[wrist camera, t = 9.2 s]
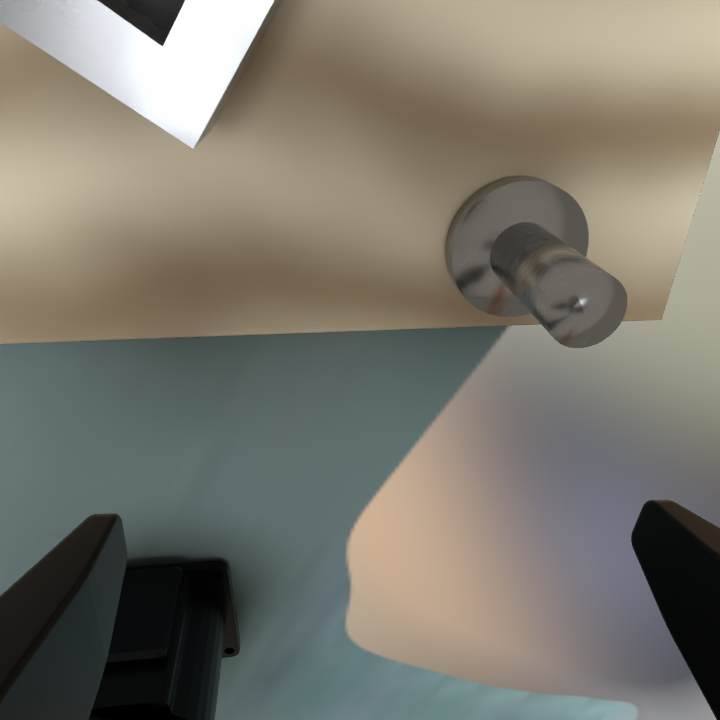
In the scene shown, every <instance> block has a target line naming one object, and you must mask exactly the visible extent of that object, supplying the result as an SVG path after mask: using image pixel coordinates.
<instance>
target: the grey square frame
mask: <svg viewBox="0 0 720 720" xmlns="http://www.w3.org/2000/svg"><path fill="white" fill-rule="evenodd" d="M282 1H283V0H185V2H184V4H183V6H182V8H181V10H180V12H179V14H178V16H177V18H176V21H175V23H174V25H173V27H172V29H171V31H170V33H169V35H168V34H167V33H166V32H164V31H163V30H162V29H160V28H159V27H157V26H156V25H155V24H153V23H152V22H151V21H149V20H148V19H146V18H145V17H144V16H142V15H141V14H140V13H138V12H137V11H135V10H134V9H133V8H131V7H130V6H129V5H127V4H126V3H124V2H123V1H122V0H0V22H1V23H2V24H4V25H5V26H7V27H8V28H10V29H11V30H13V31H14V32H16V33H18V34H19V35H21V36H22V37H24V38H25V39H27V40H28V41H30V42H31V43H33V44H34V45H36V46H37V47H39V48H40V49H42V50H43V51H45V52H46V53H48V54H49V55H51V56H53V57H54V58H56V59H57V60H59V61H60V62H62V63H63V64H65V65H66V66H68V67H69V68H71V69H72V70H74V71H75V72H77V73H78V74H80V75H81V76H83V77H84V78H86V79H87V80H89V81H91V82H92V83H94V84H95V85H97V86H98V87H100V88H101V89H103V90H104V91H106V92H107V93H109V94H110V95H112V96H113V97H115V98H116V99H118V100H119V101H121V102H122V103H124V104H126V105H127V106H129V107H130V108H132V109H133V110H135V111H136V112H138V113H139V114H141V115H142V116H144V117H145V118H147V119H148V120H150V121H151V122H153V123H154V124H156V125H157V126H159V127H161V128H162V129H164V130H165V131H167V132H168V133H170V134H171V135H173V136H174V137H176V138H177V139H179V140H180V141H182V142H183V143H185V144H186V145H188V146H189V147H191V148H192V149H194V148H195V147H196V146H197V145H198V144H199V143H200V142H201V141H202V140H203V139H204V138H205V137H206V136H207V135H208V134H209V133H210V132H211V130H212V128H213V126H214V125H215V123H216V121H217V119H218V117H219V115H220V114H221V112H222V110H223V108H224V106H225V105H226V103H227V101H228V99H229V97H230V96H231V94H232V92H233V90H234V88H235V86H236V85H237V83H238V81H239V79H240V77H241V76H242V74H243V72H244V70H245V68H246V66H247V65H248V63H249V61H250V59H251V57H252V56H253V54H254V52H255V50H256V48H257V47H258V45H259V43H260V41H261V39H262V37H263V36H264V34H265V32H266V30H267V28H268V27H269V25H270V23H271V21H272V19H273V17H274V16H275V14H276V12H277V10H278V8H279V7H280V5H281V3H282Z"/></svg>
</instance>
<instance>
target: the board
mask: <svg viewBox="0 0 720 720" xmlns="http://www.w3.org/2000/svg"><path fill="white" fill-rule="evenodd" d="M719 131H720V0H283V1H282V3H281V5H280V7H279V8H278V10H277V12H276V14H275V16H274V17H273V19H272V21H271V23H270V25H269V27H268V28H267V30H266V32H265V34H264V36H263V37H262V39H261V41H260V43H259V45H258V47H257V48H256V50H255V52H254V54H253V56H252V57H251V59H250V61H249V63H248V65H247V66H246V68H245V70H244V72H243V74H242V76H241V77H240V79H239V81H238V83H237V85H236V86H235V88H234V90H233V92H232V94H231V96H230V97H229V99H228V101H227V103H226V105H225V106H224V108H223V110H222V112H221V114H220V115H219V117H218V119H217V121H216V123H215V125H214V126H213V128H212V130H211V132H210V133H209V134H208V135H207V136H206V137H205V138H204V139H203V140H202V141H201V142H200V143H199V144H198V145H197V146H196V147H195V148H194V149H192V148H191V147H189V146H188V145H186V144H185V143H183V142H182V141H180V140H179V139H177V138H176V137H174V136H173V135H171V134H170V133H168V132H167V131H165V130H164V129H162V128H161V127H159V126H157V125H156V124H154V123H153V122H151V121H150V120H148V119H147V118H145V117H144V116H142V115H141V114H139V113H138V112H136V111H135V110H133V109H132V108H130V107H129V106H127V105H126V104H124V103H122V102H121V101H119V100H118V99H116V98H115V97H113V96H112V95H110V94H109V93H107V92H106V91H104V90H103V89H101V88H100V87H98V86H97V85H95V84H94V83H92V82H91V81H89V80H87V79H86V78H84V77H83V76H81V75H80V74H78V73H77V72H75V71H74V70H72V69H71V68H69V67H68V66H66V65H65V64H63V63H62V62H60V61H59V60H57V59H56V58H54V57H53V56H51V55H49V54H48V53H46V52H45V51H43V50H42V49H40V48H39V47H37V46H36V45H34V44H33V43H31V42H30V41H28V40H27V39H25V38H24V37H22V36H21V35H19V34H18V33H16V32H14V31H13V30H11V29H10V28H8V27H7V26H5V25H4V24H2V23H1V22H0V344H9V343H37V342H64V341H92V340H119V339H147V338H175V337H202V336H230V335H257V334H285V333H312V332H340V331H368V330H395V329H423V328H450V327H478V326H505V325H532V324H541V323H540V322H539V321H538V320H537V319H536V318H535V317H534V316H533V315H532V314H531V313H530V314H527V315H523V316H517V317H500V316H494V315H491V314H488V313H485V312H483V311H481V310H479V309H477V308H476V307H474V306H473V305H472V304H471V303H470V302H469V301H467V299H466V298H465V297H464V296H463V295H462V293H461V292H460V290H459V289H458V287H457V286H456V285H455V283H454V282H453V280H452V278H451V276H450V274H449V272H448V269H447V265H446V260H445V243H446V237H447V233H448V230H449V227H450V224H451V222H452V220H453V218H454V216H455V214H456V213H457V211H458V210H459V208H460V207H461V206H462V204H463V203H464V202H465V201H466V200H467V199H468V198H469V197H470V196H471V195H472V194H473V193H475V192H476V191H477V190H478V189H480V188H482V187H483V186H485V185H486V184H488V183H490V182H492V181H495V180H498V179H500V178H504V177H509V176H517V175H525V176H532V177H537V178H540V179H542V180H545V181H547V182H549V183H551V184H553V185H555V186H557V187H559V188H561V189H562V190H564V191H566V192H567V193H568V194H570V195H571V196H572V197H573V198H574V199H575V200H576V201H577V203H578V204H579V205H580V207H581V209H582V210H583V213H584V215H585V217H586V221H587V225H588V232H589V244H588V250H587V255H586V258H587V259H589V260H590V261H592V262H593V263H595V264H596V265H598V266H599V267H600V268H602V269H603V270H605V271H606V272H608V273H609V274H610V275H612V276H613V277H615V278H616V279H617V280H619V281H620V282H621V283H622V285H623V286H624V288H625V290H626V293H627V309H626V313H625V316H624V318H623V320H622V321H641V320H642V321H643V320H661V319H662V316H663V313H664V310H665V306H666V303H667V300H668V297H669V293H670V290H671V287H672V283H673V280H674V277H675V274H676V271H677V268H678V264H679V261H680V258H681V254H682V251H683V248H684V245H685V242H686V238H687V235H688V232H689V229H690V225H691V222H692V219H693V216H694V212H695V209H696V206H697V203H698V199H699V196H700V193H701V189H702V186H703V183H704V180H705V177H706V173H707V170H708V167H709V163H710V160H711V157H712V154H713V151H714V147H715V144H716V141H717V138H718V135H719Z"/></svg>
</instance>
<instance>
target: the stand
mask: <svg viewBox="0 0 720 720" xmlns="http://www.w3.org/2000/svg"><path fill="white" fill-rule="evenodd" d="M588 244H589V232H588V225H587V221H586V217H585V215H584V213H583V210H582V209H581V207H580V205H579V204H578V203H577V201H576V200H575V199H574V198H573V197H572V196H571V195H570V194H568V193H567V192H566V191H564V190H562V189H561V188H559V187H557V186H555V185H553V184H551V183H549V182H547V181H545V180H542V179H540V178H537V177H532V176H525V175H517V176H509V177H504V178H500V179H498V180H495V181H492V182H490V183H488V184H486V185H485V186H483V187H482V188H480V189H478V190H477V191H476V192H475V193H473V194H472V195H471V196H470V197H469V198H468V199H467V200H466V201H465V202H464V203H463V204H462V206H461V207H460V208H459V210H458V211H457V213H456V214H455V216H454V218H453V220H452V222H451V224H450V227H449V230H448V233H447V237H446V243H445V260H446V265H447V269H448V272H449V274H450V276H451V278H452V280H453V282H454V283H455V285H456V286H457V287H458V289H459V290H460V292H461V293H462V295H463V296H464V297H465V298H466V299H467V301H469V302H470V303H471V304H472V305H473V306H474V307H476V308H477V309H479V310H481V311H483V312H485V313H488V314H491V315H494V316H500V317H517V316H523V315H527V314H530V313H531V314H532V315H533V316H534V317H535V318H536V319H537V320H538V321H539V322H540V323H541V325H543V327H544V328H545V329H546V330H547V331H548V332H549V333H550V334H551V335H552V336H553V337H554V339H555V340H557V341H558V342H559V343H560V344H562V345H565V346H567V347H572V348H584V347H589V346H592V345H594V344H597V343H599V342H601V341H603V340H604V339H606V338H607V337H608V336H610V335H611V334H612V333H613V332H614V331H615V330H616V329H617V327H618V326H619V325H620V323H621V322H622V320H623V318H624V316H625V313H626V309H627V293H626V290H625V288H624V286H623V285H622V283H621V282H620V281H619V280H617V279H616V278H615V277H613V276H612V275H610V274H609V273H608V272H606V271H605V270H603V269H602V268H600V267H599V266H598V265H596V264H595V263H593V262H592V261H590V260H589V259H587V258H586V255H587V250H588Z"/></svg>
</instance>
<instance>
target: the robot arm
mask: <svg viewBox="0 0 720 720" xmlns="http://www.w3.org/2000/svg"><path fill="white" fill-rule="evenodd" d="M631 541H632V546H633V549H634V551H635V554H636V556H637V558H638V560H639V563H640V565H641V568H642V570H643V572H644V575H645V577H646V579H647V581H648V584H649V586H650V589H651V591H652V593H653V596H654V598H655V600H656V603H657V605H658V607H659V610H660V612H661V614H662V617H663V619H664V621H665V623H666V625H667V628H668V629H669V631H670V633H671V635H672V637H673V639H674V641H675V643H676V645H677V647H678V649H679V650H680V652H681V654H682V656H683V658H684V660H685V662H686V663H687V665H688V667H689V669H690V671H691V673H692V675H693V676H694V678H695V680H696V682H697V684H698V686H699V688H700V689H701V691H702V693H703V695H704V697H705V699H706V700H707V702H708V704H709V706H710V708H711V710H712V711H713V713H714V715H715V717H716V719H717V720H720V528H719V527H717V526H715V525H713V524H711V523H710V522H708V521H706V520H705V519H703V518H701V517H700V516H698V515H696V514H694V513H692V512H691V511H689V510H687V509H686V508H684V507H682V506H680V505H679V504H677V503H675V502H673V501H670V500H650V501H647V502H646V503H645V504H644V505H643V507H642V510H641V512H640V514H639V517H638V519H637V522H636V524H635V526H634V529H633V531H632V536H631ZM126 562H127V550H126V544H125V538H124V532H123V525H122V520H121V518H120V516H119V515H118V514H94V515H91V516H89V517H88V518H87V519H86V520H84V521H83V522H82V523H81V524H80V525H79V526H78V527H77V528H76V529H74V530H73V531H72V532H71V533H70V534H69V535H68V536H67V537H65V538H64V539H63V540H62V541H61V542H60V543H59V544H58V545H57V546H55V547H54V548H53V549H52V550H51V551H50V552H49V553H48V554H47V555H45V556H44V557H43V558H42V559H41V560H40V561H39V562H38V563H37V564H35V565H34V566H33V567H32V568H31V569H30V570H29V571H28V572H27V573H25V574H24V575H23V576H22V577H21V578H20V579H19V580H18V581H17V582H15V583H14V584H13V585H12V586H11V587H10V588H9V589H8V590H7V591H5V592H4V593H3V594H2V595H1V596H0V720H215V712H216V704H217V695H218V686H219V677H220V668H221V660H222V658H224V657H232V656H235V655H237V654H238V653H239V650H240V638H239V631H238V625H237V618H236V611H235V604H234V598H233V591H232V584H231V577H230V570H229V566H228V565H227V564H226V563H225V562H222V561H210V562H197V563H184V564H171V565H158V566H145V567H132V568H126Z"/></svg>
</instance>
